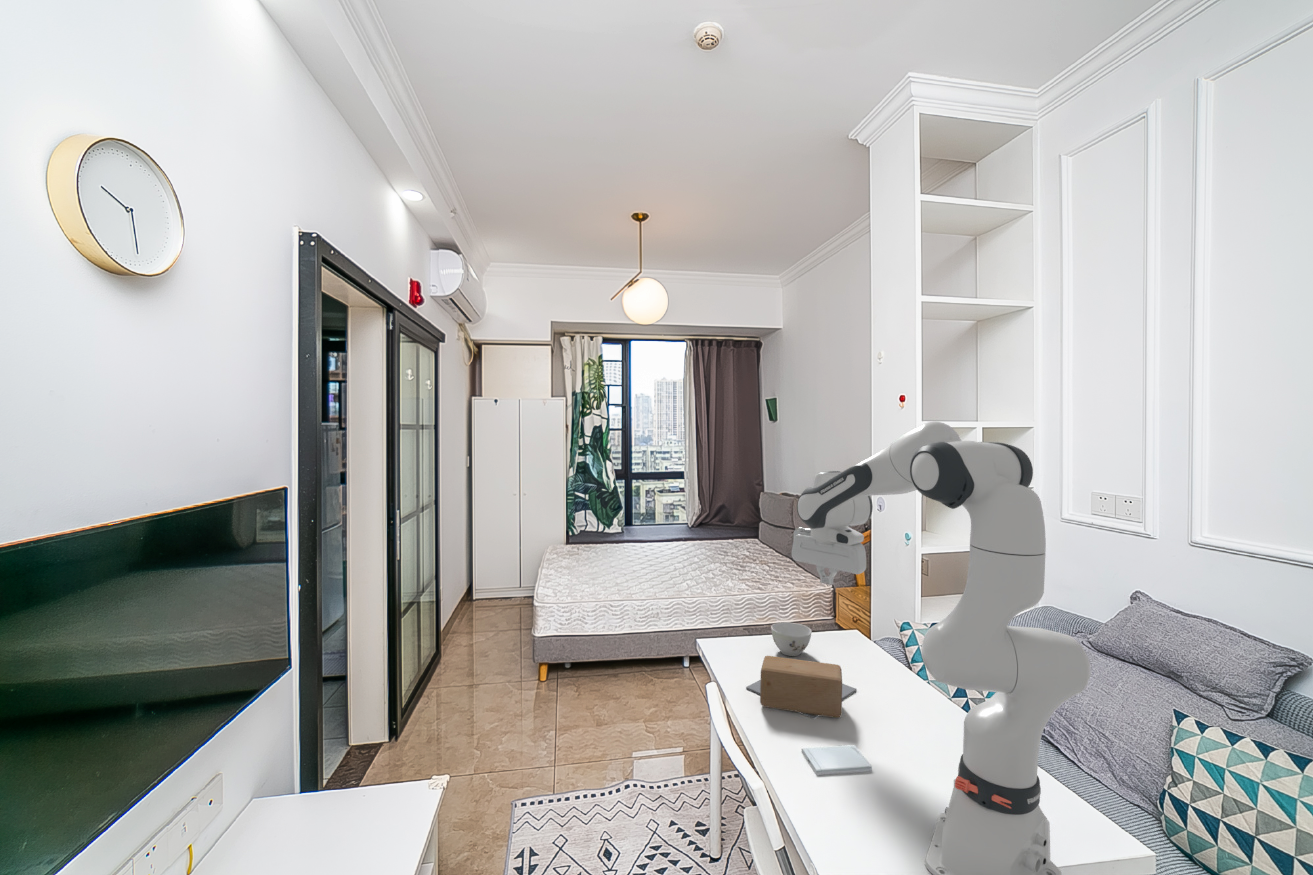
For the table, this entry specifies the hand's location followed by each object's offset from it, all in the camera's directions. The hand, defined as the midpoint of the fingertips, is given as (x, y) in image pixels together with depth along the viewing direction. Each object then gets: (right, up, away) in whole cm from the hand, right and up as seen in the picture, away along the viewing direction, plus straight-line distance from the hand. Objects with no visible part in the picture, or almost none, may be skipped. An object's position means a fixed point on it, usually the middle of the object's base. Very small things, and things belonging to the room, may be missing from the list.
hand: (826, 583), depth 149 cm
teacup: (-2, -30, +32) cm, 44 cm away
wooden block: (+2, -26, -6) cm, 27 cm away
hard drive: (-6, -33, -26) cm, 42 cm away
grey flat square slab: (-5, -31, +6) cm, 32 cm away
